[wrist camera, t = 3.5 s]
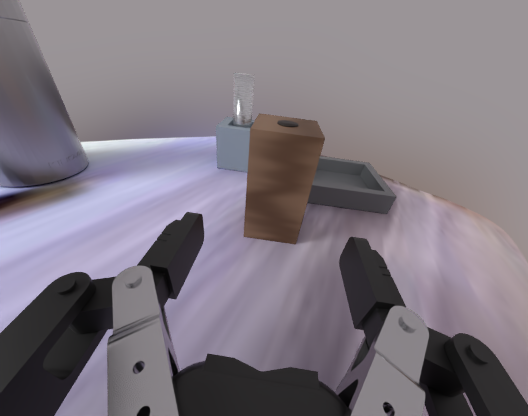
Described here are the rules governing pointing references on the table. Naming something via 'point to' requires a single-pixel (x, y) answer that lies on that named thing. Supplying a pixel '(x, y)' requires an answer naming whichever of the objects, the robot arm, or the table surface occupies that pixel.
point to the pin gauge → (243, 100)
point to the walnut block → (280, 176)
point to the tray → (350, 186)
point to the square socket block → (232, 145)
